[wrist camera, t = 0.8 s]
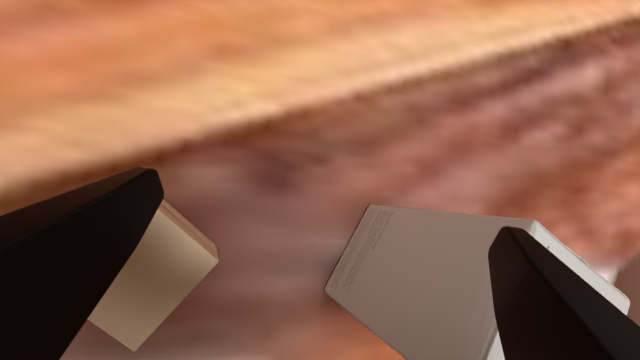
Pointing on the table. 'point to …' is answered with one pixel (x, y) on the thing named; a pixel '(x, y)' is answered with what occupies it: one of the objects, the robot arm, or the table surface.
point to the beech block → (155, 278)
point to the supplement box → (435, 280)
